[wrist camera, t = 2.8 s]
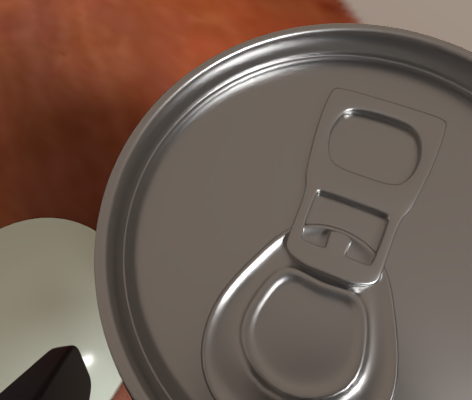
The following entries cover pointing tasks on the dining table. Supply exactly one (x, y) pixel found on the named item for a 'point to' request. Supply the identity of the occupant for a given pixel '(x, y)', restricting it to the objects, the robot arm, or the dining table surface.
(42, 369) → the robot arm
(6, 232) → the pale green flat disc
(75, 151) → the dining table surface
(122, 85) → the dining table surface
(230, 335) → the can
